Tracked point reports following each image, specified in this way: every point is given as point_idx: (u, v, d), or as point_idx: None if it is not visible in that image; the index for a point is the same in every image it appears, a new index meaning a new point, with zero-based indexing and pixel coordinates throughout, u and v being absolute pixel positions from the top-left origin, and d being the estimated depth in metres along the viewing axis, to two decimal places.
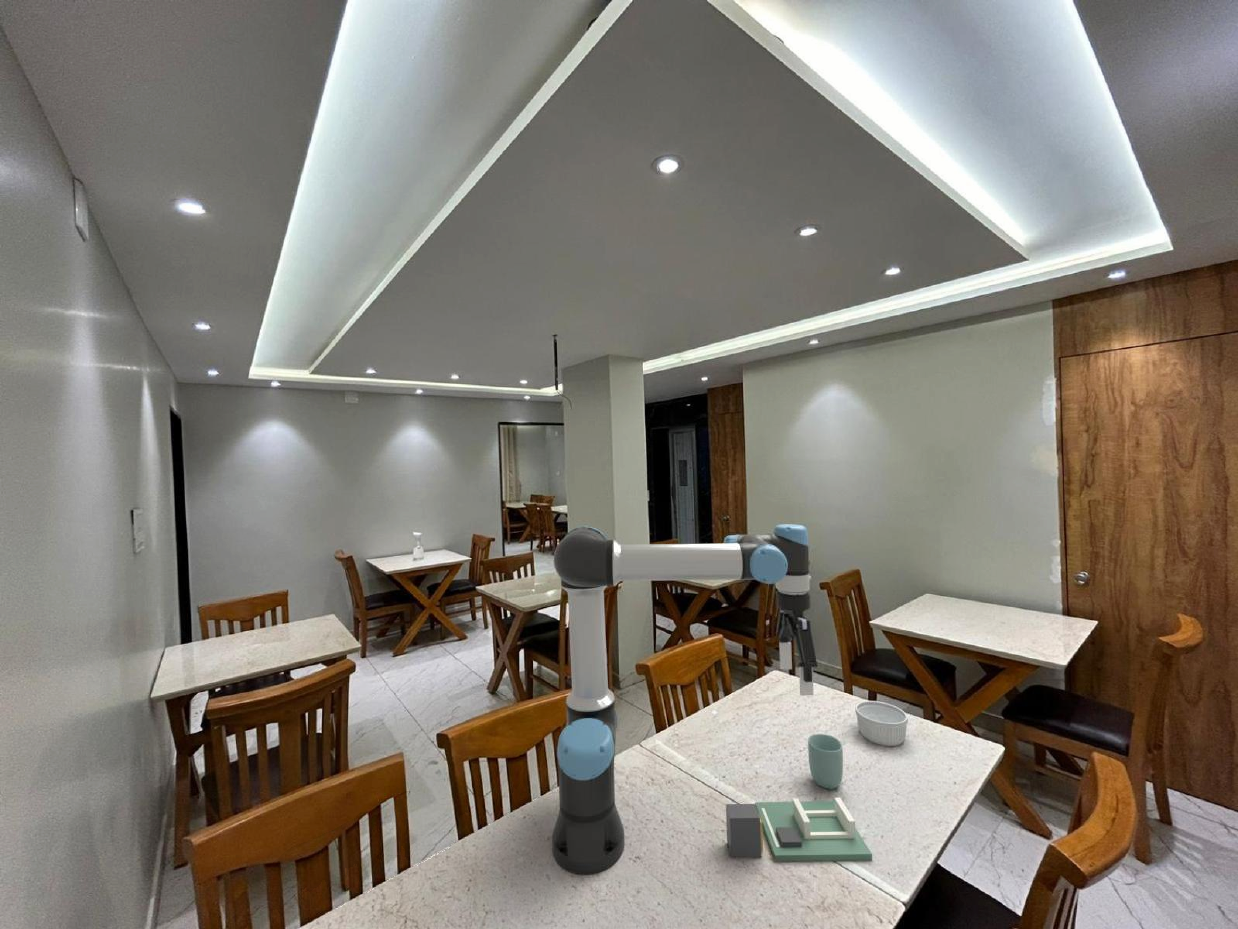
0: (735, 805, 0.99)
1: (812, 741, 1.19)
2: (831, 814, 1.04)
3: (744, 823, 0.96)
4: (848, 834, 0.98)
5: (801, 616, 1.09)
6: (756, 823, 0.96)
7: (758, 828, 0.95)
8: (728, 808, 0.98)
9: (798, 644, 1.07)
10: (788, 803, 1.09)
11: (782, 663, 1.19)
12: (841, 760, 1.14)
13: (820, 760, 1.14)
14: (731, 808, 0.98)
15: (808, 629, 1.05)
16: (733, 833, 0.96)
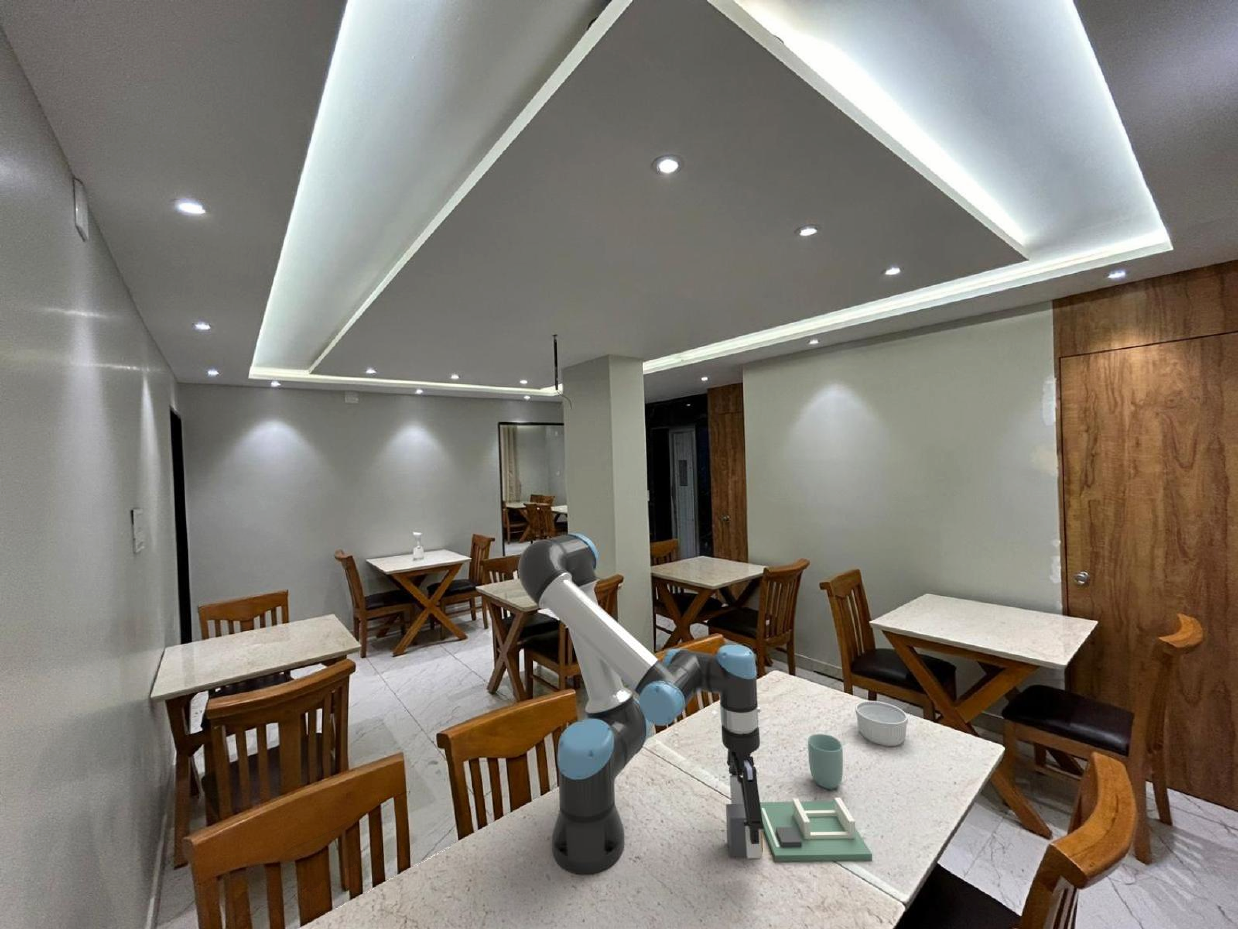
0: (735, 805, 0.99)
1: (812, 741, 1.19)
2: (831, 814, 1.04)
3: None
4: (848, 834, 0.98)
5: (748, 760, 0.94)
6: None
7: None
8: (728, 808, 0.98)
9: (744, 795, 0.92)
10: (788, 803, 1.09)
11: (733, 800, 1.04)
12: (841, 760, 1.14)
13: (820, 760, 1.14)
14: (731, 808, 0.98)
15: (754, 780, 0.91)
16: (733, 833, 0.96)
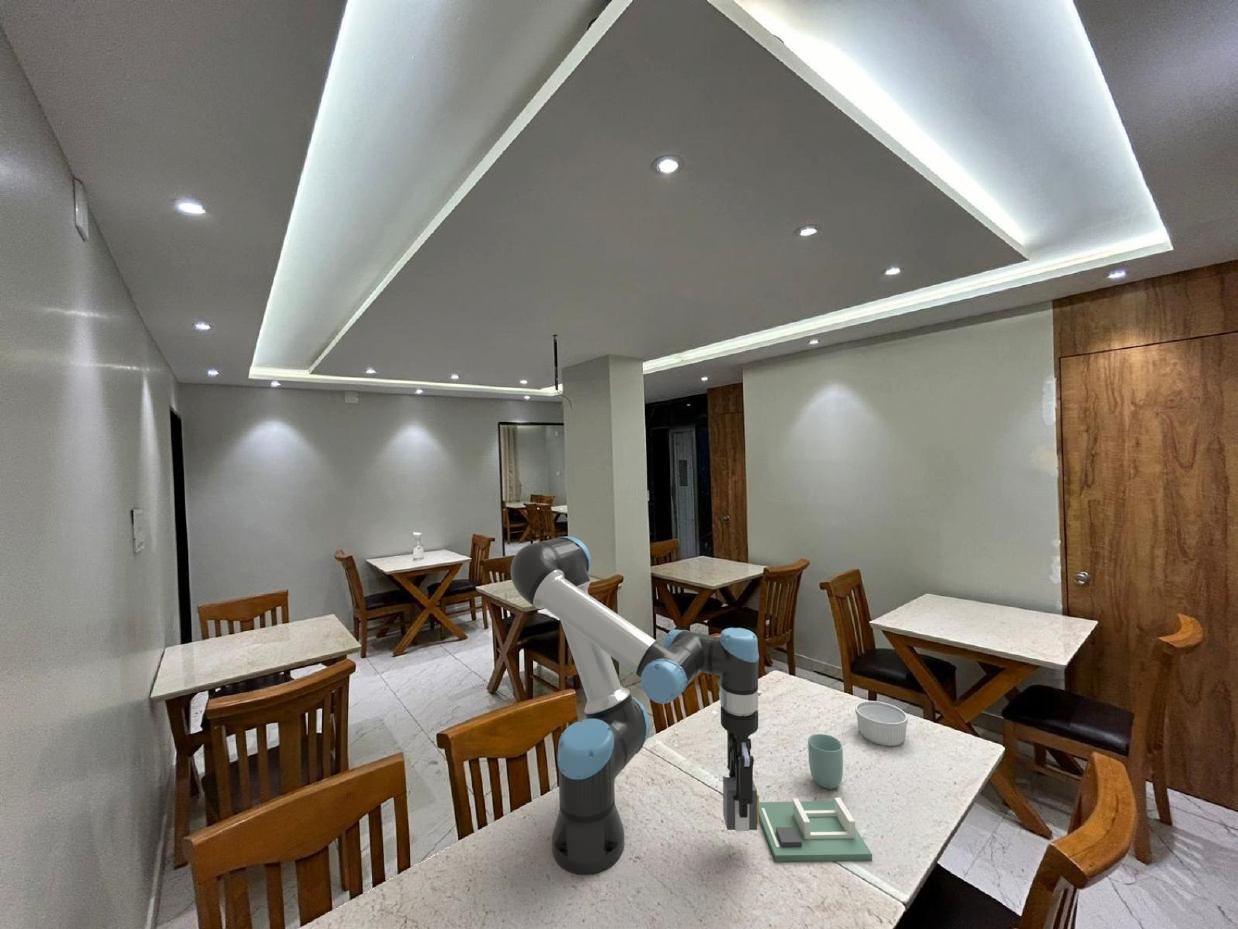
0: (732, 778, 0.99)
1: (812, 741, 1.19)
2: (831, 814, 1.04)
3: None
4: (848, 834, 0.98)
5: (746, 745, 0.94)
6: None
7: (755, 801, 0.96)
8: (725, 781, 0.99)
9: (737, 775, 0.95)
10: (788, 803, 1.09)
11: None
12: (841, 760, 1.14)
13: (820, 760, 1.14)
14: (728, 781, 0.99)
15: (750, 767, 0.92)
16: (729, 805, 0.96)
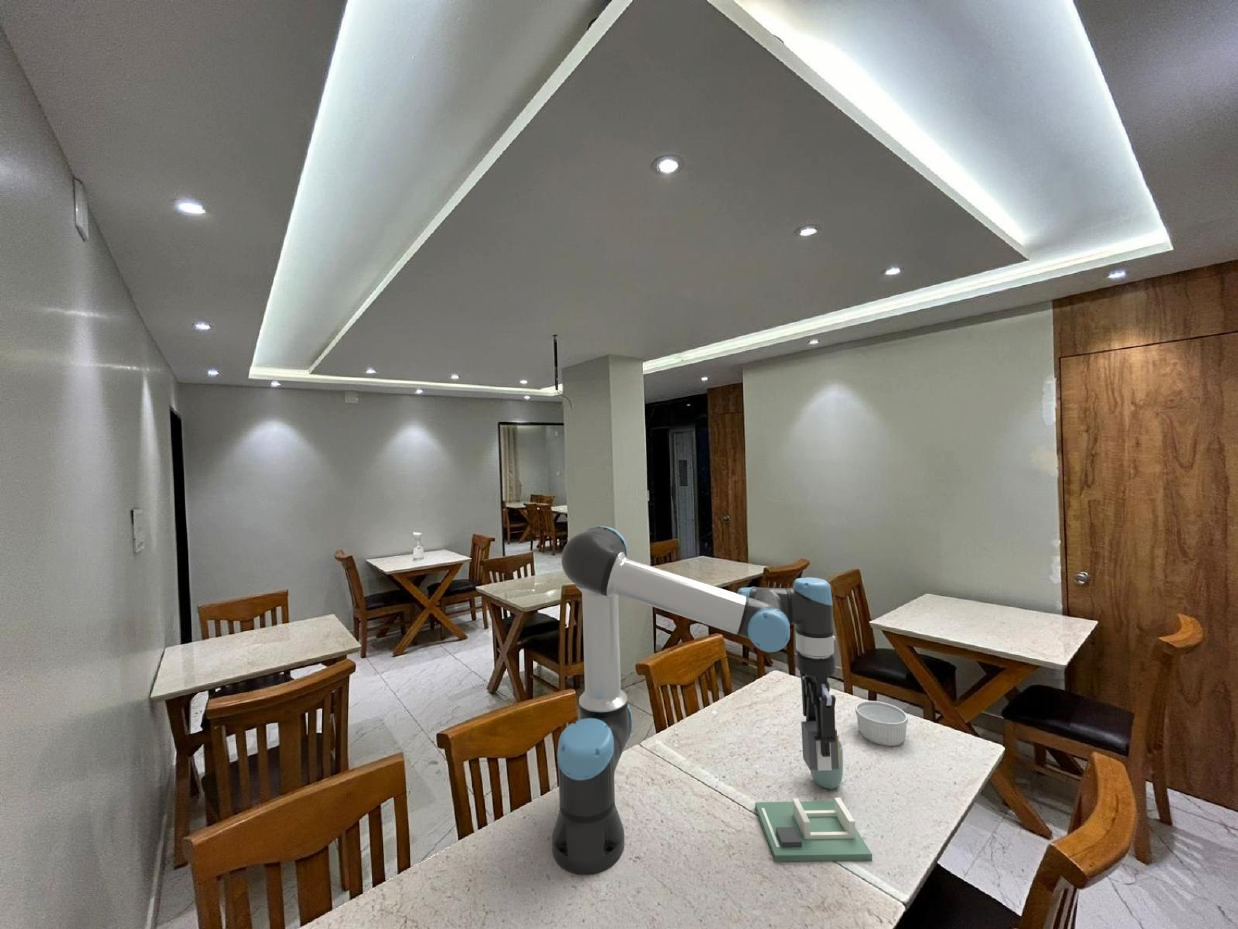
0: (810, 722, 1.03)
1: None
2: (831, 814, 1.04)
3: None
4: (848, 834, 0.98)
5: (826, 686, 0.98)
6: None
7: None
8: (804, 724, 1.02)
9: (818, 716, 0.99)
10: (788, 803, 1.09)
11: None
12: (841, 760, 1.14)
13: None
14: (807, 724, 1.02)
15: (832, 706, 0.96)
16: (811, 745, 1.00)
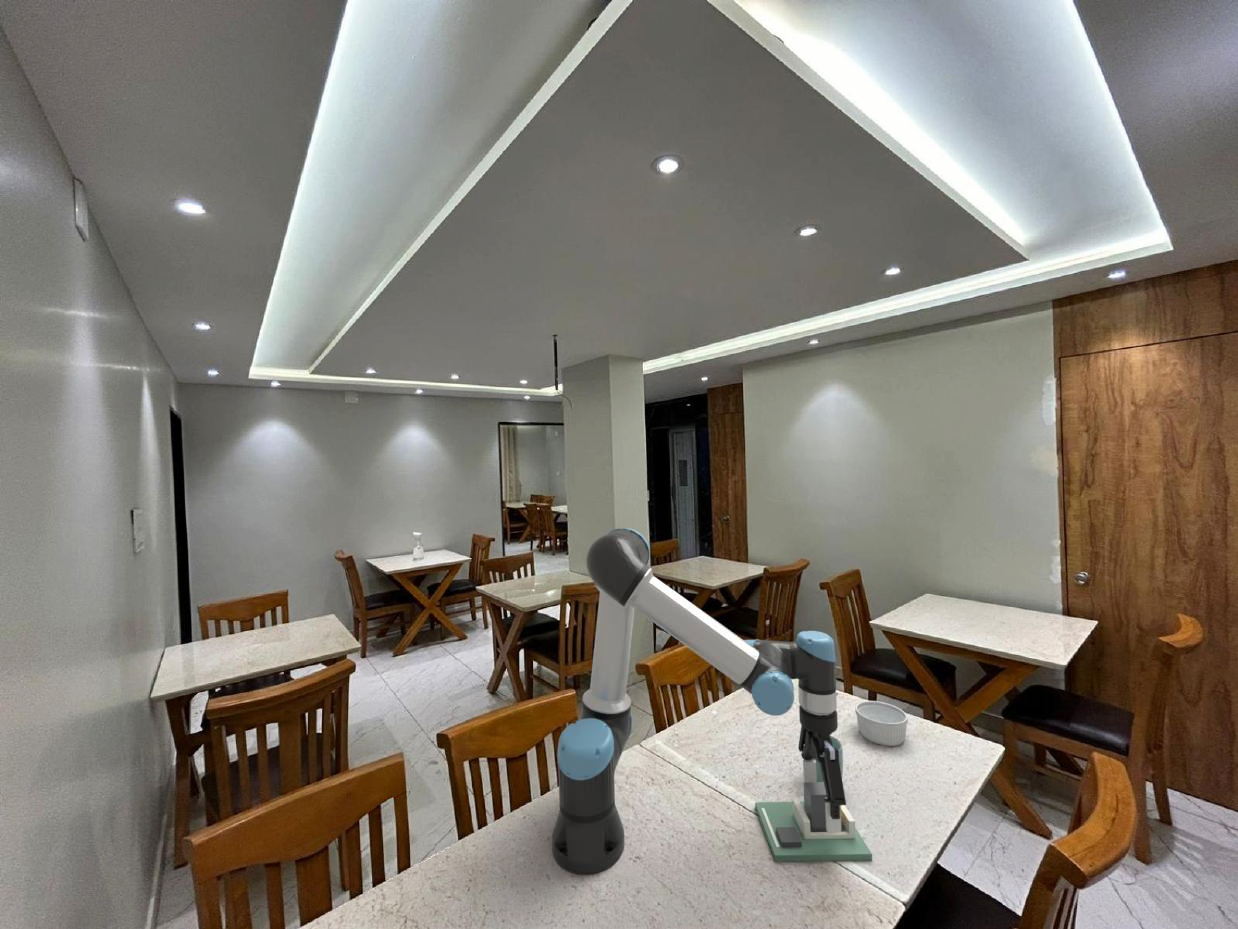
0: (813, 783, 1.03)
1: None
2: None
3: None
4: (848, 834, 0.98)
5: (828, 740, 0.98)
6: None
7: None
8: (807, 786, 1.02)
9: (824, 774, 0.97)
10: (788, 803, 1.09)
11: None
12: (841, 760, 1.14)
13: None
14: (809, 786, 1.02)
15: (836, 760, 0.95)
16: (814, 809, 1.00)
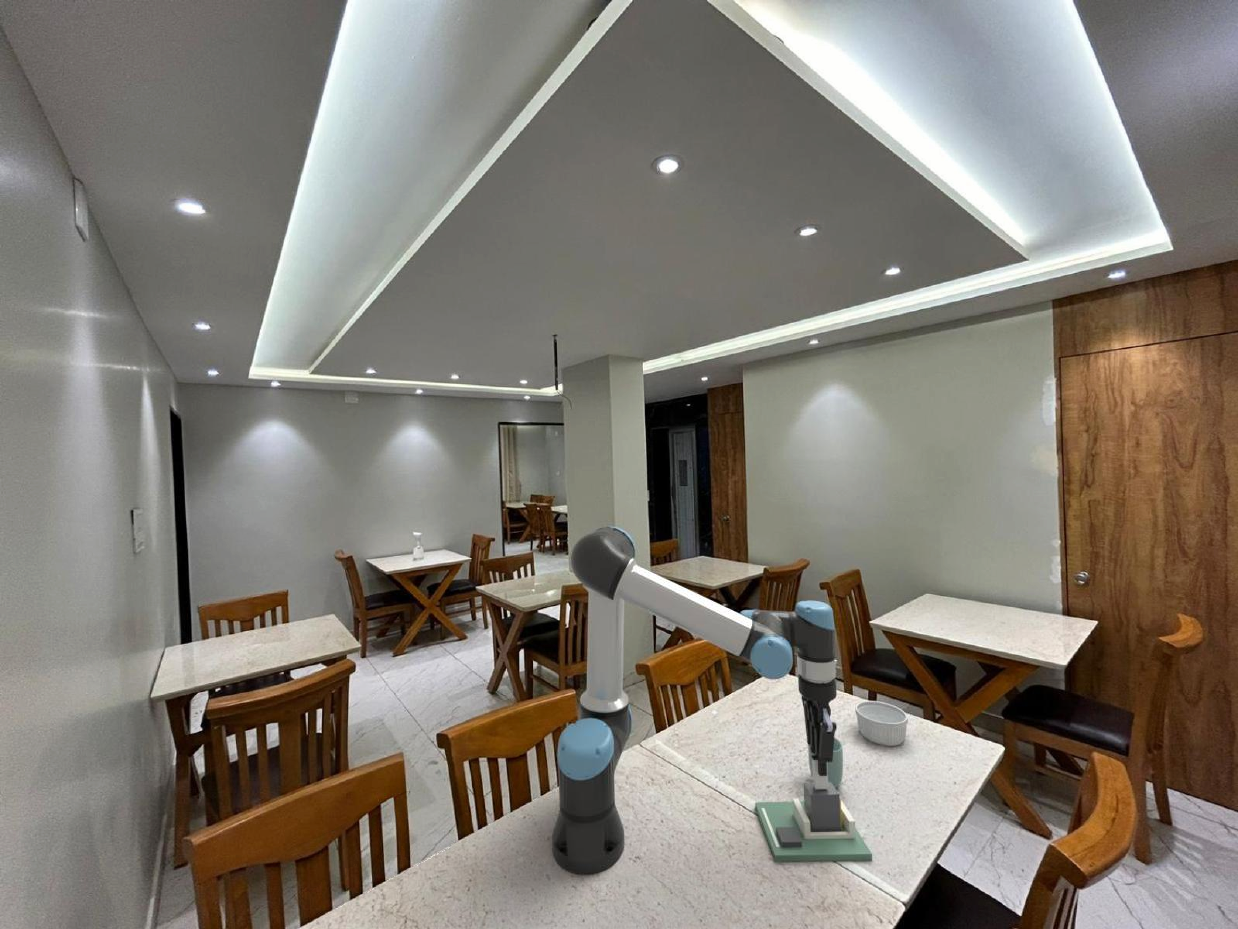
0: None
1: None
2: None
3: (824, 799, 1.00)
4: (848, 834, 0.98)
5: (828, 712, 0.98)
6: (835, 799, 1.00)
7: (838, 804, 1.00)
8: (807, 786, 1.02)
9: (817, 739, 1.00)
10: (788, 803, 1.09)
11: None
12: (841, 760, 1.14)
13: None
14: (809, 786, 1.02)
15: (832, 732, 0.96)
16: (814, 809, 1.00)
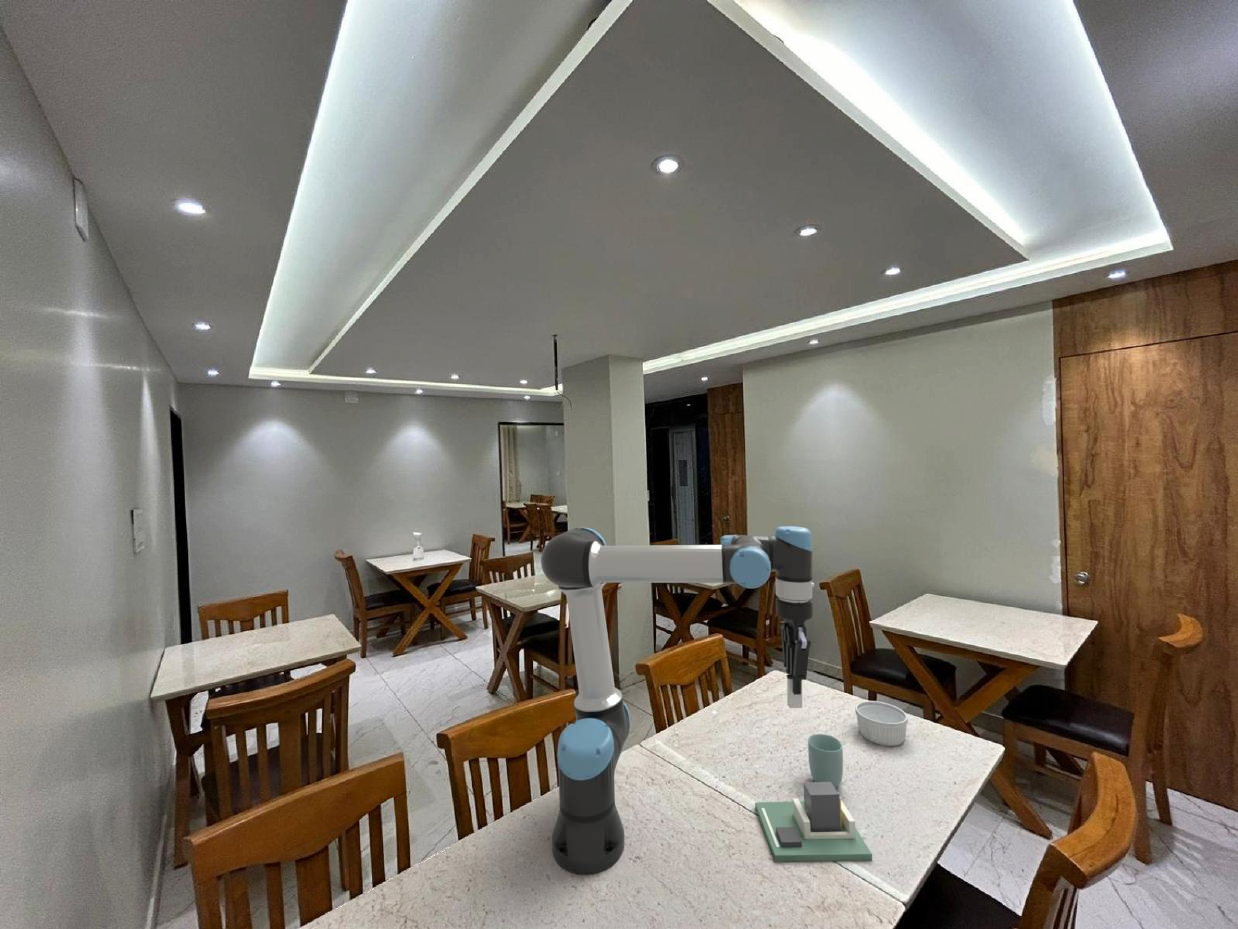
0: (813, 783, 1.03)
1: (812, 741, 1.19)
2: None
3: (824, 799, 1.00)
4: (848, 834, 0.98)
5: (803, 630, 1.00)
6: (835, 799, 1.00)
7: (838, 804, 1.00)
8: (807, 786, 1.02)
9: (792, 658, 1.02)
10: (788, 803, 1.09)
11: None
12: (841, 760, 1.14)
13: (820, 760, 1.14)
14: (809, 786, 1.02)
15: (807, 649, 0.99)
16: (814, 809, 1.00)
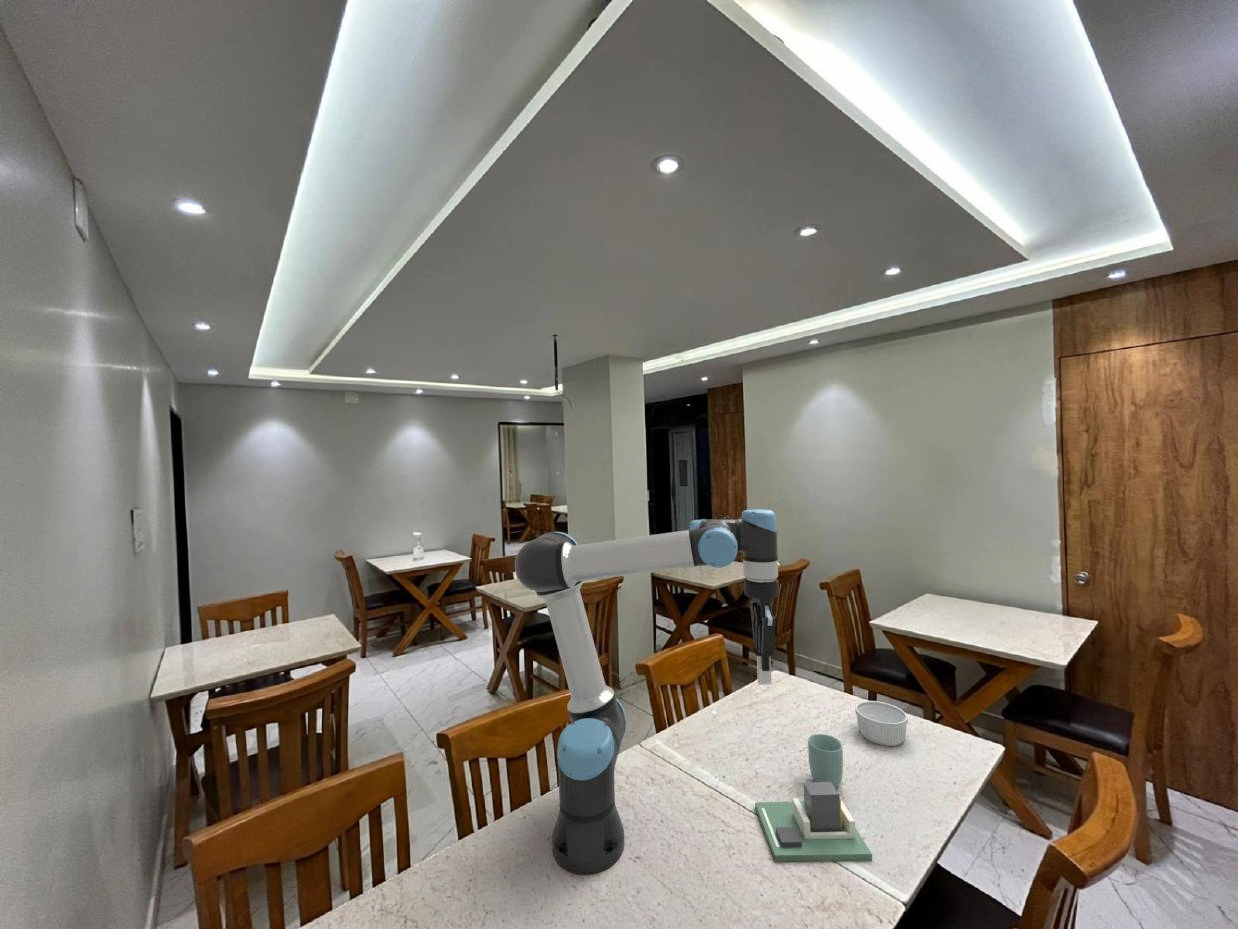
0: (813, 783, 1.03)
1: (812, 741, 1.19)
2: None
3: (824, 799, 1.00)
4: (848, 834, 0.98)
5: (769, 608, 1.04)
6: (835, 799, 1.00)
7: (838, 804, 1.00)
8: (807, 786, 1.02)
9: (760, 636, 1.06)
10: (788, 803, 1.09)
11: None
12: (841, 760, 1.14)
13: (820, 760, 1.14)
14: (809, 786, 1.02)
15: (773, 626, 1.02)
16: (814, 809, 1.00)
